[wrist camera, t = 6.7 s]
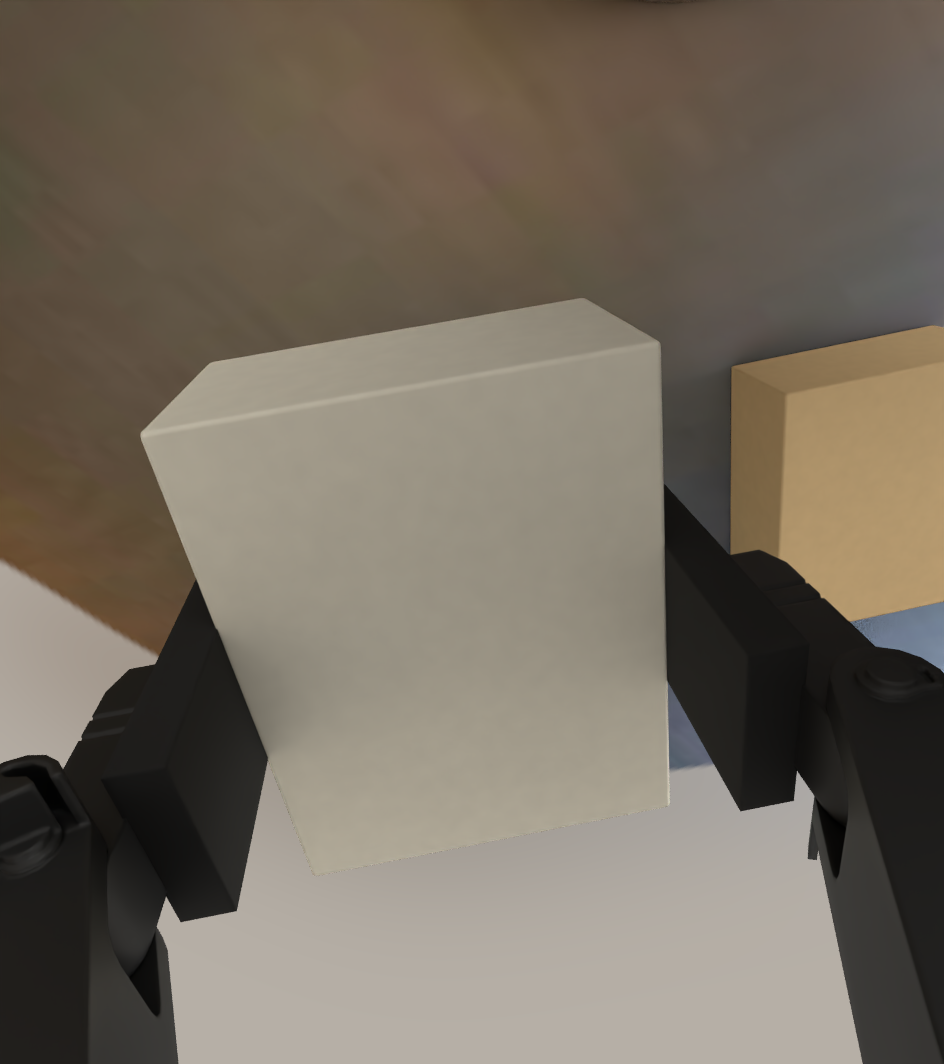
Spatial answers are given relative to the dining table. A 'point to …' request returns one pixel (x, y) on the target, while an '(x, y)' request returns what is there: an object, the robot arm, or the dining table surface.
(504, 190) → the dining table surface
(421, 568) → the middle pad
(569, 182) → the dining table surface
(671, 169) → the dining table surface
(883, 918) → the robot arm
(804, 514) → the base pad
